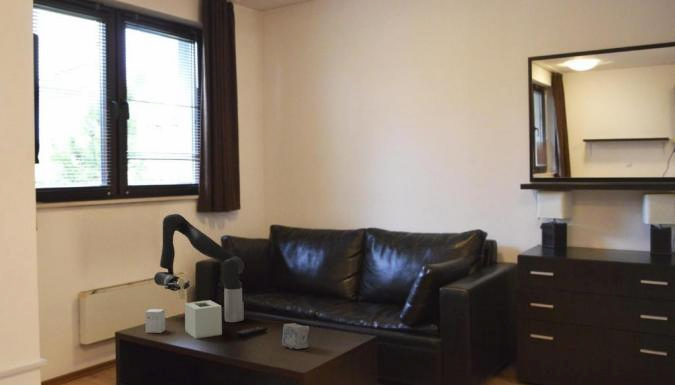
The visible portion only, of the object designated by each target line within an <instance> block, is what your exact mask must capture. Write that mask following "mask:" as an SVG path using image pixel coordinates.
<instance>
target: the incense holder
mask: <svg viewBox="0 0 675 385" xmlns="http://www.w3.org/2000/svg"><path fill="white" fill-rule="evenodd" d="M309 333H310V326H309V325H301V324H297V323H294V322H293V323H284V324H283V329H282V339H281V345H282V346H284V347H288V349H289V348H290V349H289V350H292V349H296V350H299V349H307V347H308V348H309V343H308V334H309Z"/></svg>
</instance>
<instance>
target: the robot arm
mask: <svg viewBox="0 0 675 385" xmlns="http://www.w3.org/2000/svg"><path fill="white" fill-rule="evenodd" d="M175 232H179V233H180V234H182V235H183V236H185V237H186V238H187V240H188V241H189V242H190V244H191V246H192V247H193V248H194V249H195V250H197V251H198V252H199V253H201V255H204V256H206V257H208V258H210V259H214V260H216V261H217V262H220V263H221V264H222V267H221V273H222V274H221V275H222V283H223V287H224V288H223V289H224V292H223V293H224V296H223V297H224V321H225V322H226V323H238V322H241V321H244V320H245V319H244V315H245V314H244V313H245V312H244V308H245V307H244V301H243V283H242V282H241V281H240V279H239V278H240V277H239V274H241V273H243V271H244V269H245V264H244V263H245V262H244V261H243V260H242V258H240V257H239V256H237V255H235V254H233V253H232V252H229V251H228V250H227V249H225V248H224V247H223V246H222V245H220V244H219V243H217V242H216V241H215V240H214V239H212V238H211V237H210V236H208V235H207V234H205V233H204V232H203V231H201V230H200V229H198V228H197V227H195V226H194V225H193V224H191V223H190V222H189V221H188V220H187V219H186V218H185V217H184V216H183V215H181V214H179V213H173V214H167V215H165V216H164V217H163V220H162V249H161V256H160V261H159V267H161V268H162V269H164V270H167V271H158V272H156V273H155V274H154V277H153V279H154V280H153V281H154V283H155V284H156V285H158V286H163V287H164V289H165V290H170V291H172V292H178V290H181V288H180V285H178V280H177V279H180V277H179V276H177V275H175V274H174V272H175V271H174V262H175V257H176V256H175V255H176V253H175V252H176V251H175V246H174V235H175ZM190 286H191V282H190V280H187V281H186V282H185V281H184V290H187V289H188V288H190Z"/></svg>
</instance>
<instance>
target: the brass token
mask: <svg viewBox="0 0 675 385" xmlns="http://www.w3.org/2000/svg"><path fill="white" fill-rule="evenodd" d="M179 278H180V277H179ZM177 280H178V285H180V288H181V290H177V299H179V300H185V298H186V297H185V292H186V291H185V289H184V282H185V278H183V277H181V278H180V279H177Z"/></svg>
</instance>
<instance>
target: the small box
mask: <svg viewBox="0 0 675 385" xmlns="http://www.w3.org/2000/svg"><path fill="white" fill-rule="evenodd" d="M165 313H166V311H165V309H164V308H163V309H162V308H161V309H160V308H158V309H157V308H154V309H153V308H151V309H150V308H149V309H148V310H146V311H145V313H144V315H145V319H144V320H145V334H147V333H149V334H151V333H157V334H158V333H159V334H161V333H162V332H164V331H165V330H166V314H165Z"/></svg>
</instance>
